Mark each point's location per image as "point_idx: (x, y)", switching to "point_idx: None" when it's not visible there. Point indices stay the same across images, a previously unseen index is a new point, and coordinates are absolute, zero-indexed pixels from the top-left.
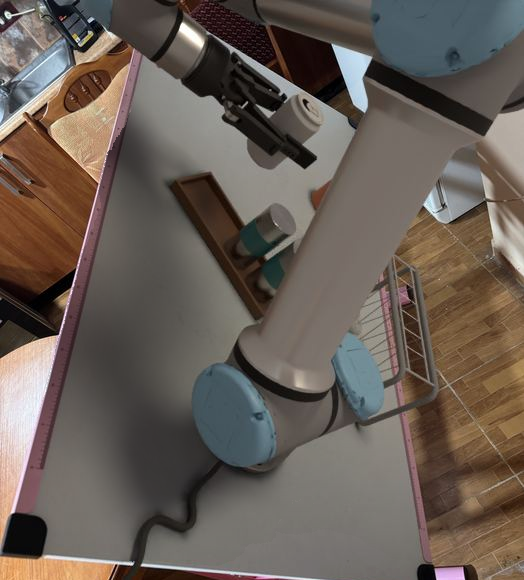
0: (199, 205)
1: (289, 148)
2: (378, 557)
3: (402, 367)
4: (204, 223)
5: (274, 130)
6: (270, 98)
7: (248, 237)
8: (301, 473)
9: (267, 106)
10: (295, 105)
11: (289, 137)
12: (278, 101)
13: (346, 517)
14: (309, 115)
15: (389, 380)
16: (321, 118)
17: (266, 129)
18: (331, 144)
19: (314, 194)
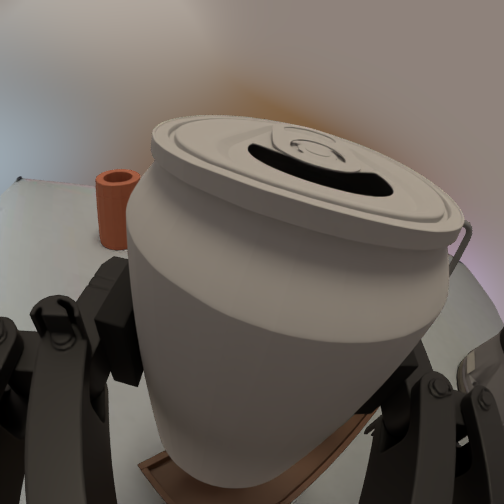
0: (233, 496)
1: (425, 353)
2: (475, 286)
3: (468, 224)
4: (298, 495)
5: (455, 450)
6: (89, 447)
7: (347, 420)
8: (481, 339)
9: (105, 435)
10: (410, 293)
11: (410, 353)
12: (87, 371)
13: (475, 305)
14: (435, 194)
15: (467, 241)
16: (320, 135)
17: (496, 491)
18: (34, 203)
19: (107, 243)
